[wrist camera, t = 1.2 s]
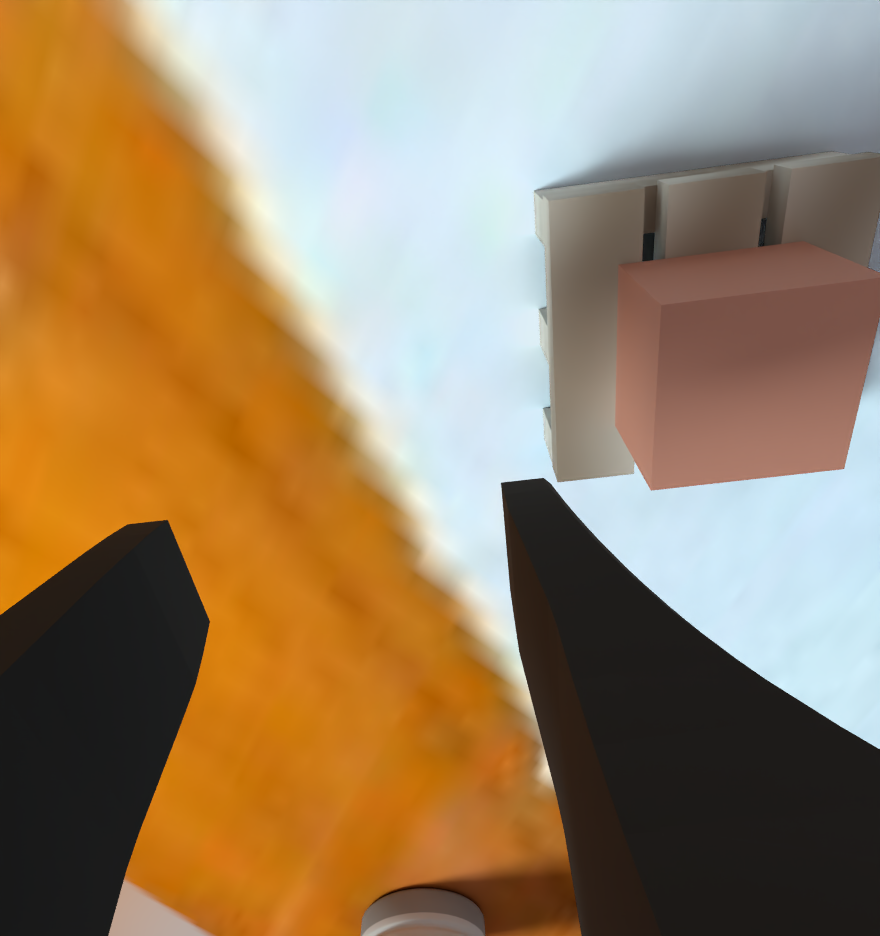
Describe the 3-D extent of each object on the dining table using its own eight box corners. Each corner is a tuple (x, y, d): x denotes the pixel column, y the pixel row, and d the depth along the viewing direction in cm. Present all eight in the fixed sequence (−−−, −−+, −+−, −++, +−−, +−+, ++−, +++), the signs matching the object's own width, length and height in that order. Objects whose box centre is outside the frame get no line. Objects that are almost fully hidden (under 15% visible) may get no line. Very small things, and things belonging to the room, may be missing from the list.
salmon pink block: (803, 241, 14) (888, 276, 11) (776, 406, 16) (843, 468, 13) (618, 264, 14) (661, 305, 12) (615, 425, 16) (650, 490, 14)
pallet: (828, 145, 15) (892, 155, 13) (783, 411, 19) (827, 451, 17) (532, 185, 16) (548, 200, 13) (543, 439, 19) (557, 482, 17)
